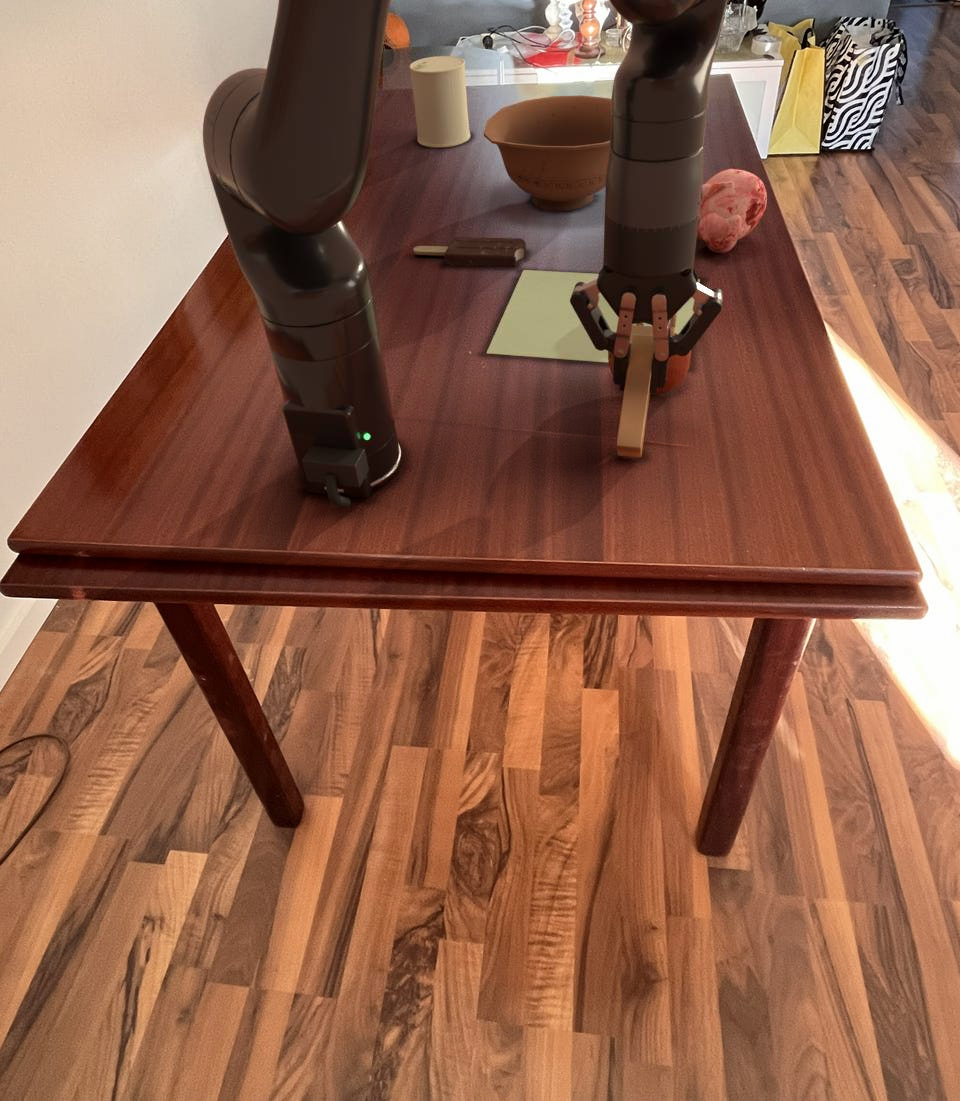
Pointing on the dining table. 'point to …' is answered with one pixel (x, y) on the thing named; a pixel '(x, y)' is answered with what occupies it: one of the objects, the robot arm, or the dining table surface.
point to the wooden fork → (637, 390)
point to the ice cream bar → (478, 251)
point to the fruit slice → (674, 372)
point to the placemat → (555, 319)
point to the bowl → (555, 148)
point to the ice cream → (730, 208)
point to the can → (440, 101)
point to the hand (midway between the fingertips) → (639, 386)
